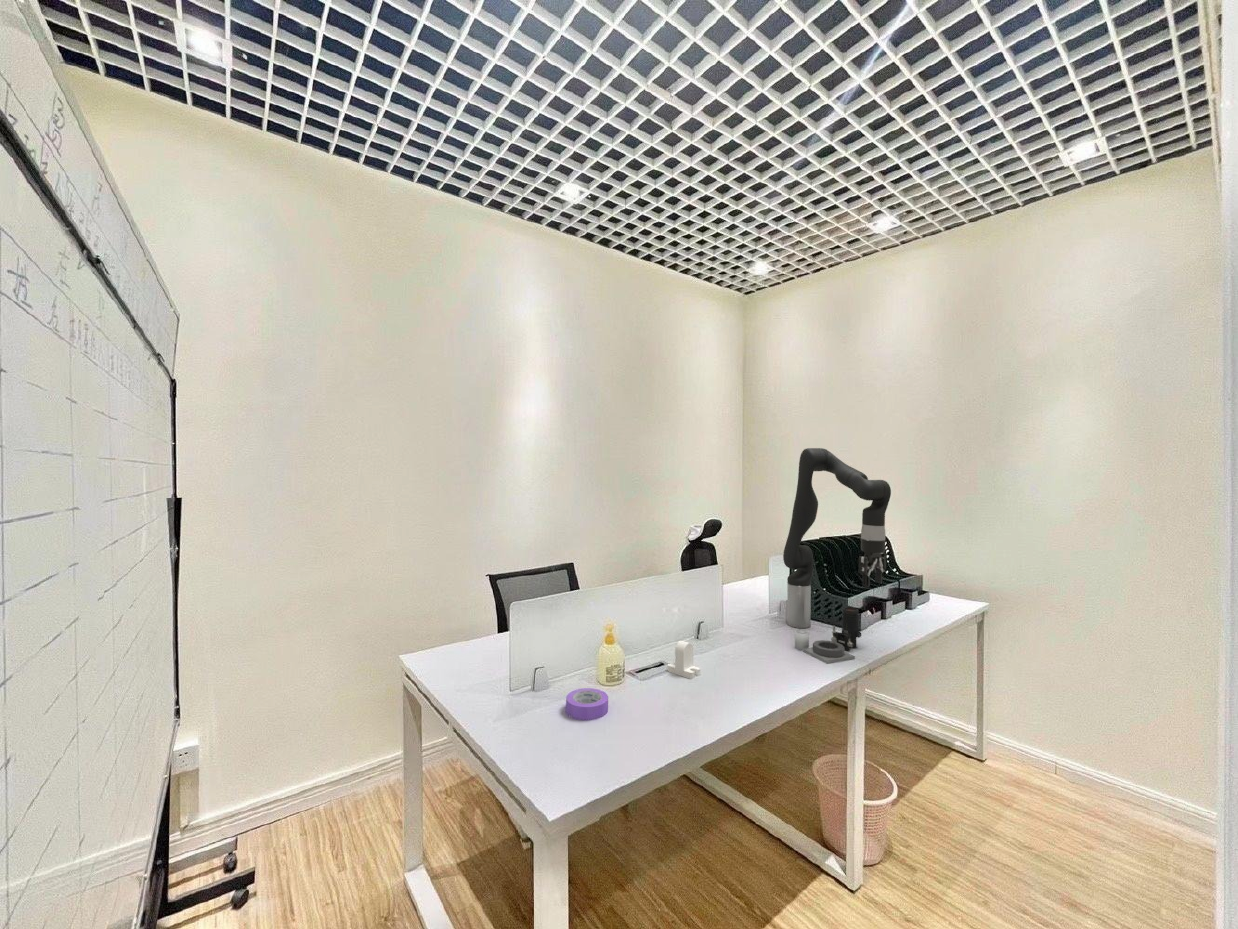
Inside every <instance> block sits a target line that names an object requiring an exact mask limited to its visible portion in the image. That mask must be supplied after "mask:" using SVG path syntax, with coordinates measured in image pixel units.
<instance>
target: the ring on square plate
mask: <svg viewBox="0 0 1238 929" xmlns="http://www.w3.org/2000/svg"><path fill="white" fill-rule="evenodd" d="M802 652H804V653H805V654H806V655H809V656H811V657H813V658H815V659H817V660H819V661H821V662H823V663H825V664H826V665H827V664H833V663H835V664H836V663H839V662H845V661H846V662H847V661H851V660H855V658H856V657H855V655H854V654H852V653H849V652H848V651H845V648H844V646H843V645H842V644H839V643H837V642H833V641H831V640H825V639H823V640H822V639H821V640H815V641H813V642H812V647H809V648H805V649H803V650H802Z"/></svg>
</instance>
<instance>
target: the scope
mask: <svg viewBox="0 0 1238 929" xmlns="http://www.w3.org/2000/svg"><path fill="white" fill-rule="evenodd" d="M842 612H843V614H842V625H841V632H839V631H838V632H837V631H836V625H833V626H832V632H831V633H832V637H831V639H830V641H833V642H837V643H839V644H842V645H843V646H844V648H845V652H850V650H851V649H856V648H857V638H861V637H862V632H861V631H860V628H859V613H860V611H859V609H858V608H856V607H850V606H845V607H843V608H842Z"/></svg>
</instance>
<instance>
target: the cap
mask: <svg viewBox="0 0 1238 929" xmlns="http://www.w3.org/2000/svg"><path fill="white" fill-rule="evenodd" d="M794 648H795V650H798V651H803V649H805V648H810V632H809V631H808V630H806V629H802V628H798V629H796V630H794Z"/></svg>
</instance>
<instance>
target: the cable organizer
mask: <svg viewBox="0 0 1238 929" xmlns="http://www.w3.org/2000/svg"><path fill="white" fill-rule="evenodd" d="M674 650H675V651H674V654H675V655H674V657H675V658H674V661H673V663H668V664H667V672H668V673H669V672H670V673H672V674H675V675H678V676H680V677H684V678H687V679H689V680H692V679H695V676H696V677H697V676H698V677H699V676H700V675H701V667H698V666H695V665H694V645H693V643H691V642H687V641H683V640H679V641H677V644H676V646H675V649H674Z"/></svg>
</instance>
